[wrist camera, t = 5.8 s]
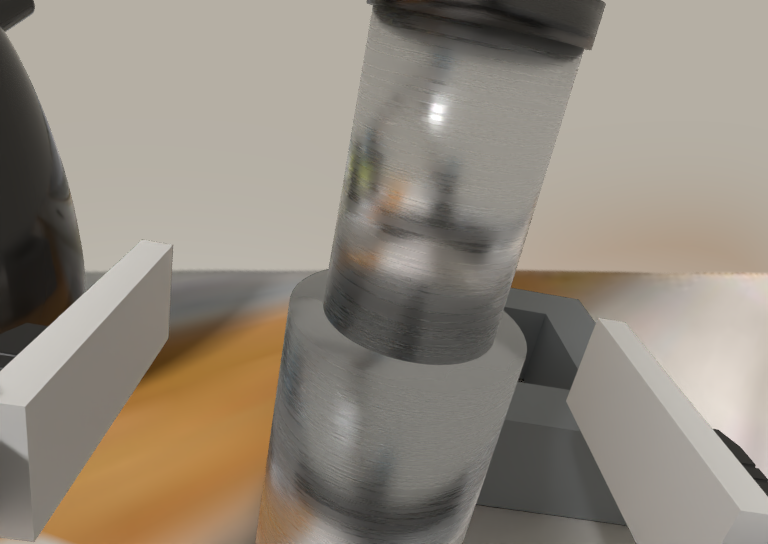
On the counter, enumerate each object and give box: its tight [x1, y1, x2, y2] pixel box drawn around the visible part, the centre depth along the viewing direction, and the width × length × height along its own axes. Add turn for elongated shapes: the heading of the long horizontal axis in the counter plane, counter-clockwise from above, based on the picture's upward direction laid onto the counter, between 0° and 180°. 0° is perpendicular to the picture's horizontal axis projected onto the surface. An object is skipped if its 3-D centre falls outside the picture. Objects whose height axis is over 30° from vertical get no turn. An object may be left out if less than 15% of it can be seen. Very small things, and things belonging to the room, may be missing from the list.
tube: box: [255, 0, 606, 544], centre depth 12 cm, size 4×4×17 cm
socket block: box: [476, 288, 627, 525], centre depth 27 cm, size 12×12×4 cm
